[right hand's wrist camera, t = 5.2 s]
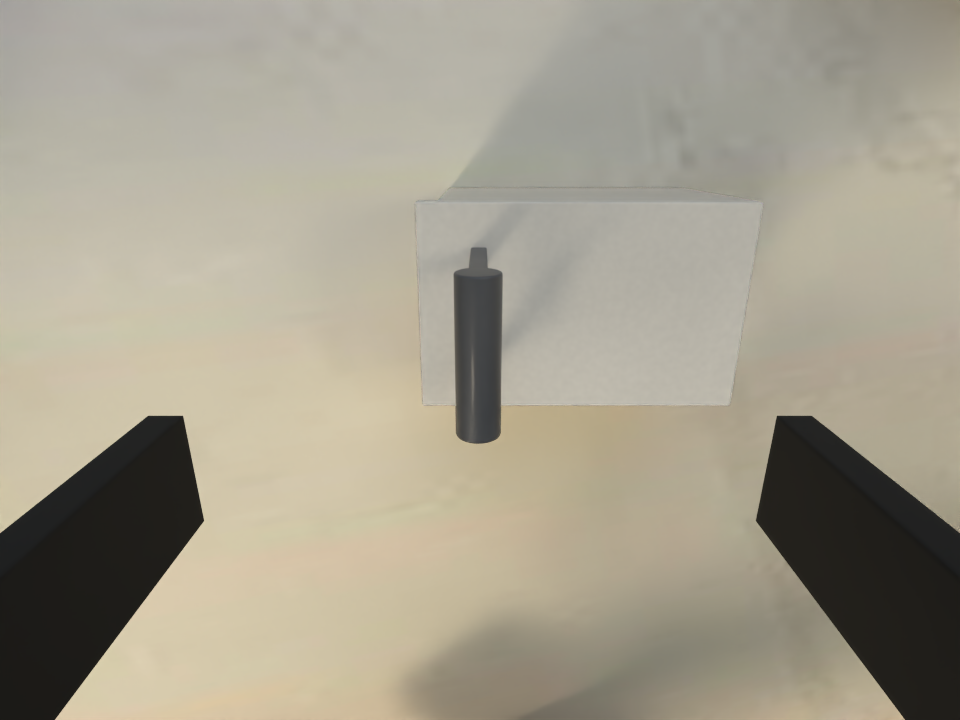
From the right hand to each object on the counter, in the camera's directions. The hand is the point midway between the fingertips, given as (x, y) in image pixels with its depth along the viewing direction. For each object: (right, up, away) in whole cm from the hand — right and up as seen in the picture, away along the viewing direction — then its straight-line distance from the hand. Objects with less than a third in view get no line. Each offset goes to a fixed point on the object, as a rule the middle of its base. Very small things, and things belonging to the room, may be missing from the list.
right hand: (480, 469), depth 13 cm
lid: (+5, +5, +14) cm, 15 cm away
